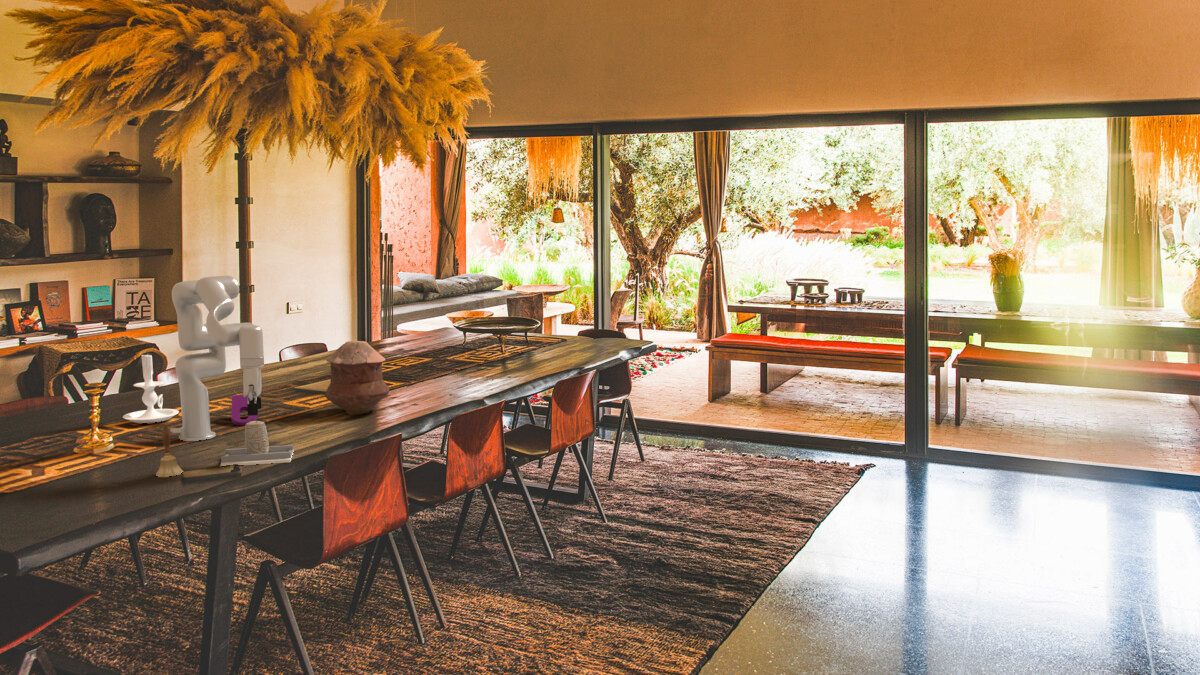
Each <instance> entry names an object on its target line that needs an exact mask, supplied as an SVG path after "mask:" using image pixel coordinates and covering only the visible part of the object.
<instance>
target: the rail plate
mask: <svg viewBox="0 0 1200 675" xmlns="http://www.w3.org/2000/svg"><path fill="white" fill-rule="evenodd" d="M293 452H295V450H294V445H293V444H286V445H272V446H270V445H269V450H268V453H262V454H248V452H247V449H246V447H242V448H241V447H240V448H225V454H224V455H222V456H221V457H220V458H221V459H220V461H221V462H220V467H221V466H226V465H233V464H238V465H244V466H255V465H256V464H259V465H269V464H270V465H271V463H273V464H285V463H291V461H292V459H291V458H293V456H294V453H293ZM292 455H293V456H292ZM256 466H257V465H256Z"/></svg>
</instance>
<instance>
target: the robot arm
mask: <svg viewBox="0 0 1200 675" xmlns="http://www.w3.org/2000/svg"><path fill="white" fill-rule="evenodd" d="M239 294H240V286H239V282H238V280H236V279H235V277H234V276H232V275H218V276H217V275H215V276H205V277H202V278H200V279H198V280H196V279H195V280H186V281H180V282H177V283H176V284H174V286H172V290H171V300H172V303H173V306H174V308H175V312H176V316H177V336H178V337H177V339H178V346H179V347H180V349H181V350H183V351H185V352H195V351H202V350H203V351H204V350H208V352H199V353H191V354H185V355H182V356H180V357H178V358H177V360H176V362H175V365H174V368H175V373H176V377H177V381H178V386H179V395H180V407H181V410H180V411H181V421H182V423H181V424H182V426H181V427H178V428H175V427H174V428H173V427H171V428H170V429H169V430H170V434H173V435H179V436H178V440H179V439H180V441H181V440H183V441H182V442H199V440H201V441H206V439H207V440H210V439H213V438H215V437H216V432H215V431H212V430H211V416H210V415H211V414H210V403H209V402H210V400H209V399H210V398H209V390H208V388H207V386H206V385H205V384H204V383H203V382H202V381H201V380H203V379H208V378H216V377H219V376H223V375H224V374H225V372H226V368H227V367H226V366H227V364H226V363H227V362H226V356H227V355H226V347H228V348H229V347H234V346H239V348H238V349H239V362H240V363H239V364H240V368H241V369H243V371H242V372H243V373H242V374H243V375H242V379H243V380H242V382H243V386H242V388H243V389H242V390H243V394H242V395H244V397H246V396H247V395H248V404H247V410H248V411H247V416H248V415H249V416H251V415H258V416H259V410H261V409H262V397H261V393H262V386H263V384H262V369H261V368H263V367H265V357H264V356H265V354H264V336H263V335H264V333H263V328H262V327H261V326H260V325H256V324H254V323H252V322H237V323H227V324H226V323H225V324H221V321H222V320H224V319H226V318H228V317H229V316H230V315H232V313H233V312H234V309H235V303H234V301H233V300H235V298H237V297H238V296H239ZM197 304H198V305H199V304H203V305H204V306H205V308H206V310H207V311H208V313H207V316H206V319H205V320H206V321H205V322H206V323H204V321H203V312H202V310H201V308H200V307H199V306H198V305H197Z"/></svg>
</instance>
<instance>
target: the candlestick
mask: <svg viewBox="0 0 1200 675" xmlns="http://www.w3.org/2000/svg"><path fill="white" fill-rule="evenodd" d="M141 364H142V365H141V366H142V374H143V376H142V377H143V378H142V379H144V382H136V383H134V384H132V386H133V387H136V388H141V389H143V390H144V392H143V394H142V397H141V401H142V402H143V404H144V405H145V406H146V408H147V409H143V410H137V411H133V412H129V413H126V414H124V415H123V416H122V418H123V419H125V420H127V421H130V422H131V423H135V424H142V423H147V424H156V423H155V422H157V423H162V422H165V421H168V420H170V419H172V418H173V417H175V416H176V415H177V414H179V413H180V411H179V410H178V409H175V408H163V404H164V403H163V402H164V398H163V395H164V394H163V393H162V394H159V395H157V393H156V391H155V388H156V387H158V386H162V385H164V384H165V382H164V381H161V380H160V381H159V380H157V381H154V380H153V375H154V368H153V356H152V354H149V353H147V354H141ZM156 404H157V406H158V407H159V408H154V406H155V405H156ZM161 421H162V422H161Z"/></svg>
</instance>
